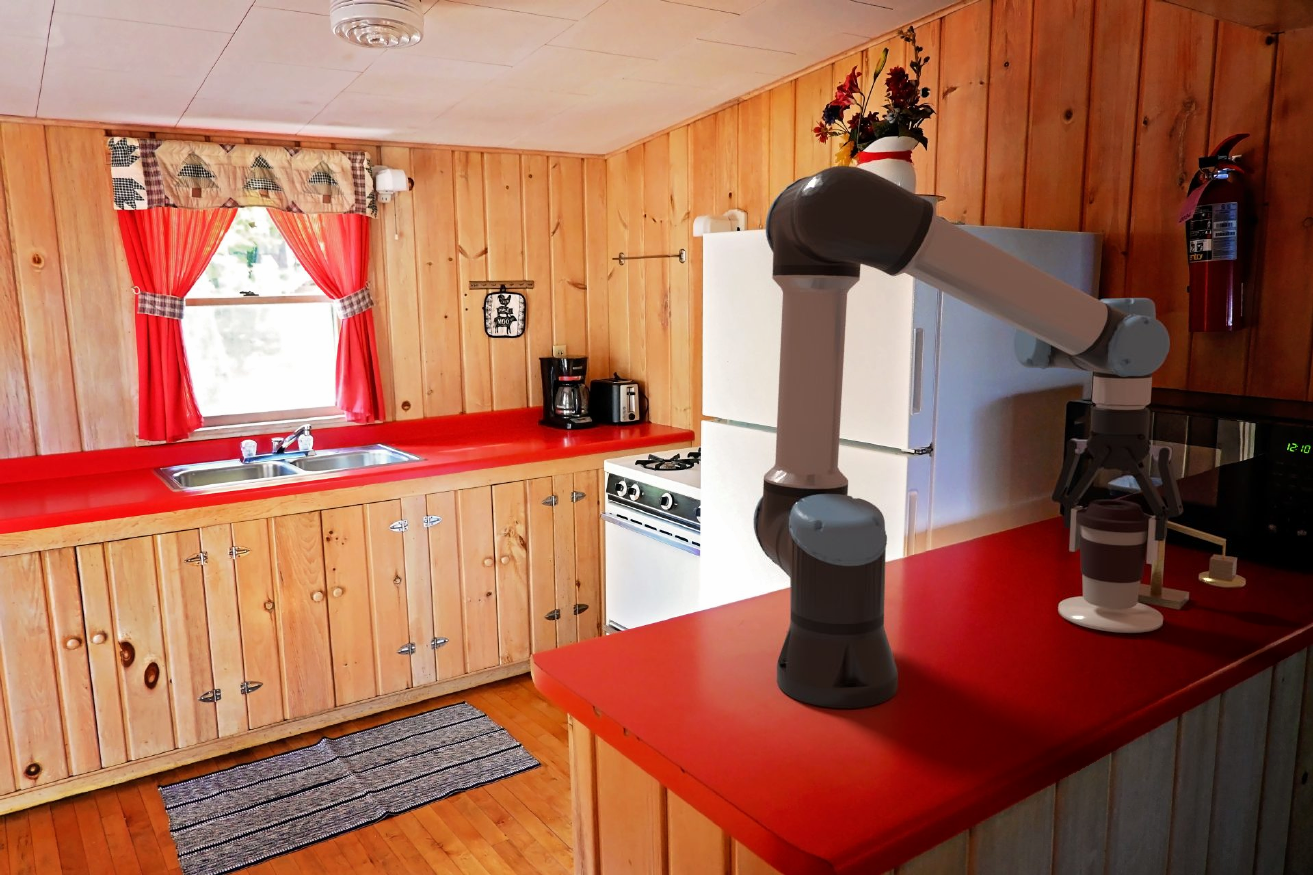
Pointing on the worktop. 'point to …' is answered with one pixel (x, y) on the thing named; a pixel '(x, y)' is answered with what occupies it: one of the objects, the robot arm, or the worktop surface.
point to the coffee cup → (1112, 552)
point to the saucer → (1110, 616)
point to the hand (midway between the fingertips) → (1112, 555)
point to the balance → (1218, 575)
